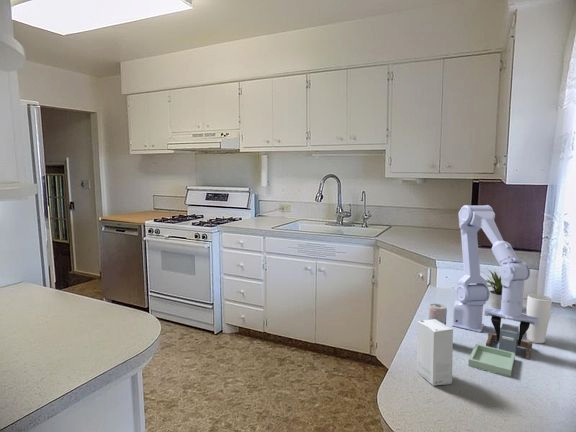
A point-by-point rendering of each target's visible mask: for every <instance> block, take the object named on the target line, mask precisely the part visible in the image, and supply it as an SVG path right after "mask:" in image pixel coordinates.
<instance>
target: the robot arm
mask: <svg viewBox="0 0 576 432" xmlns="http://www.w3.org/2000/svg"><path fill="white" fill-rule="evenodd" d="M495 218H496V213H495V212H494V209H493V207H492V206H490V205H489V204H486V205H485V204H484V205H468V204H465V205H463V206H462V207H461V208H460V210H459V211H458V225H459V229H460V238H461V239H460V240H461V251H462V253H461V254H462V264H463V265H462V266H463V276H462V277H460V279H458V280H457V286H456V287H457V288H456V291H455V294H456V297H457V298H458V299H455V301H454V304H453V315H452V318H453V319H452V326H453V327H456V328H460V329H465V330H469V331H473V332H478V333H481V332H482V331H483V328H484V327H485V324H484V323H483V315H484V316H486V317H488V316H489V317H490V321H491V324H492V326H493V328H494V331H495V334H496V337H497V341H496V342H498V341H499V340H500V329H501V326H502V319H503V320H509V321H514V322H517V323H518V322H519V330H518V345H519V346H520V344H521V340H523V337H524V336H525V335H526V334H527V330H528V328H529V325H530V324H533V325H535V326H538V318H535V317H531V316H528V315H527V314H524V313H523V302H524V291H525V281H527V280H528V279H529V278H530V276H531V271H530V270H531V269H530V267H529V265H528V264H527V263H526V262H525V261H523V260H522V259H521V258H519V257H518V256H517V254H516V252H515V250H514V249H513V247H512V244H511V243H510V242H508V241H505V240H504V239H503V236H502V234H501V233H500V230H499V228H498V226H497V224H496V222H495ZM481 229H482V231H483V232H484V235H486V237H487V239H488V240H489V241H490V243H491V244H492V247H491V252H492V254H493V256H494V258H495V259H496V261H497V263H498V266H499V270H498V274H499V278H500V277H501V283H502V285H503V288H502V300H501V309H495V308H489V307H488V308H487V307H485V309H484V305H486V302H487V301H489V300H490V291H491V290H490V288H489V287H488V286H487V285H488V282H487V281H486V280H487V279H486V278H484V277H482V275H481V268H480V265H481V264H480V255H479V242H478V232H479V231H480V230H481ZM483 312H484V314H483ZM519 346H518V347H519Z"/></svg>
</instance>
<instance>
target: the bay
mask: <svg viewBox="0 0 576 432" xmlns="http://www.w3.org/2000/svg"><path fill="white" fill-rule="evenodd" d="M492 341H494V342H498V343H499V341H497V337H496V333H491V332H488V336H487V340H486V342H485V346H488V347H491V344H492ZM517 347H520V348H523V349H524V348H525V349H526V350H525V351H526V352H525V359H526V360H529V359H530V353H531V350H532V349H533V342H531V341H529V340H523V339H522V340H521V344H520V346H519V345H518V342H517Z"/></svg>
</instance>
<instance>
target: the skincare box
mask: <svg viewBox="0 0 576 432" xmlns="http://www.w3.org/2000/svg"><path fill="white" fill-rule="evenodd" d="M416 335H417V337H416V338H417V340H416V341H417V343H416V345H417V346H416V349H417V350H416V372H417V371H418V372H419V373H420V374H421V375H420V374H419V373H418V372H417V373H418V374H419V375H420V376H421V377H423V378H424V380H426V381H427V382H428V383H430V384H431V386H435V387H436V386H442V385H452V383H453V357H454V355H453V352H454V351H453V348H454V347H453V345H454V344H453V342H454V340H453V339H454V328H451V327H450V326H449V325H447V324H446V325H444V324H443V323H441V322H439V321H437V320H436V319H432V320H428V319H424V320H417V334H416Z"/></svg>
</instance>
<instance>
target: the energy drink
mask: <svg viewBox="0 0 576 432" xmlns="http://www.w3.org/2000/svg"><path fill="white" fill-rule="evenodd" d="M447 312H448V310H447V306H446V305H444V304H440V303H430V305H429V308H428V319H427V320H432V319H436V320H437V321H439V322H441V323H443V324H444V325H446V326H447Z"/></svg>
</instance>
